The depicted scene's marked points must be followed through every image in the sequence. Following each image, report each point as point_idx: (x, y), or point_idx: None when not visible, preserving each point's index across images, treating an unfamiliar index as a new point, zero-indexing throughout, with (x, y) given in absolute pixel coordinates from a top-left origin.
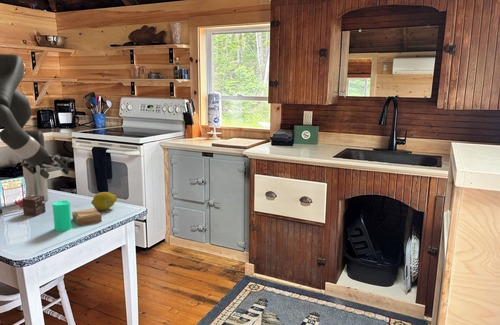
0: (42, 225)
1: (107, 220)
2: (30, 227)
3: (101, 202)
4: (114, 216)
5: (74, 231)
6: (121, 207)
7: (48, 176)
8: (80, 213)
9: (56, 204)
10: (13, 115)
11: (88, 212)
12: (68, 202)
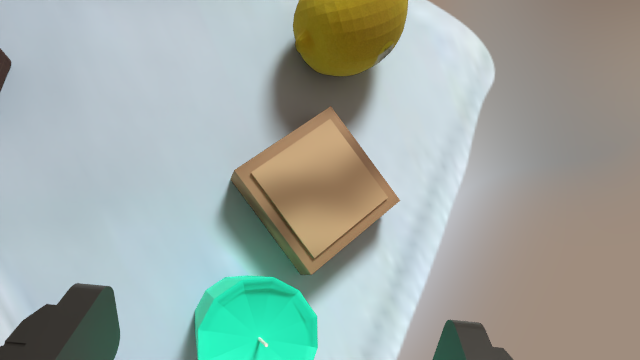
0: None
1: (403, 195)
2: None
3: (360, 65)
4: (413, 143)
5: None
6: None
7: (114, 319)
8: (295, 200)
9: (228, 356)
10: None
11: (331, 183)
12: (305, 312)
